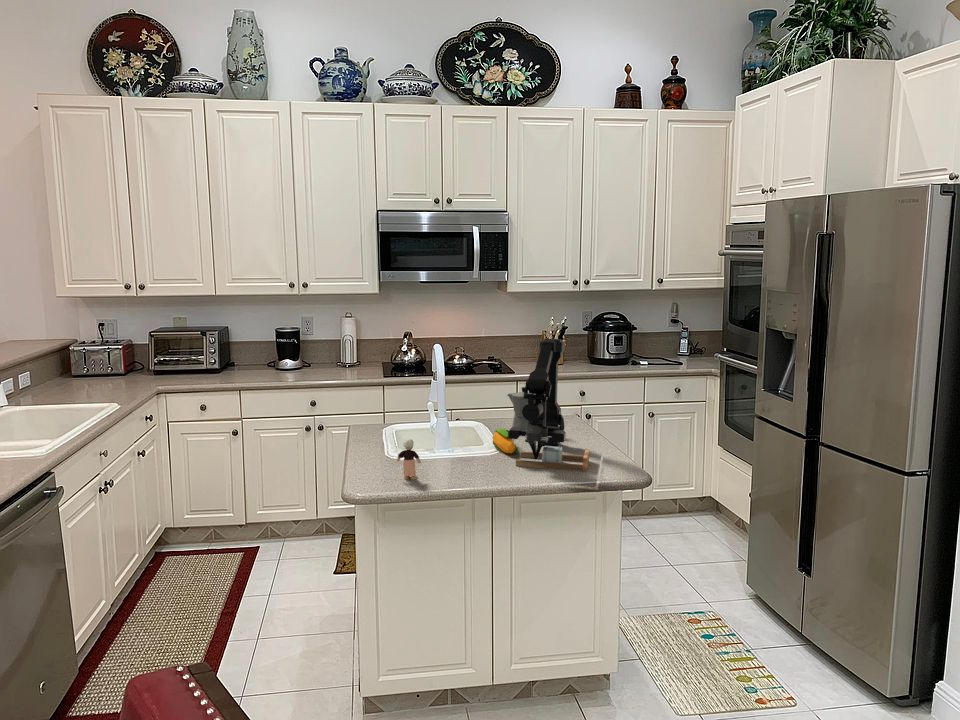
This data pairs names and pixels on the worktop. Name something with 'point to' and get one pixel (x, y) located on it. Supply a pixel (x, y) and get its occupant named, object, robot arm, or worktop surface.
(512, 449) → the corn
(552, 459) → the block
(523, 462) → the bay
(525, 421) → the coffeepot
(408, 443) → the grandmother figurine
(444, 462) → the worktop surface
